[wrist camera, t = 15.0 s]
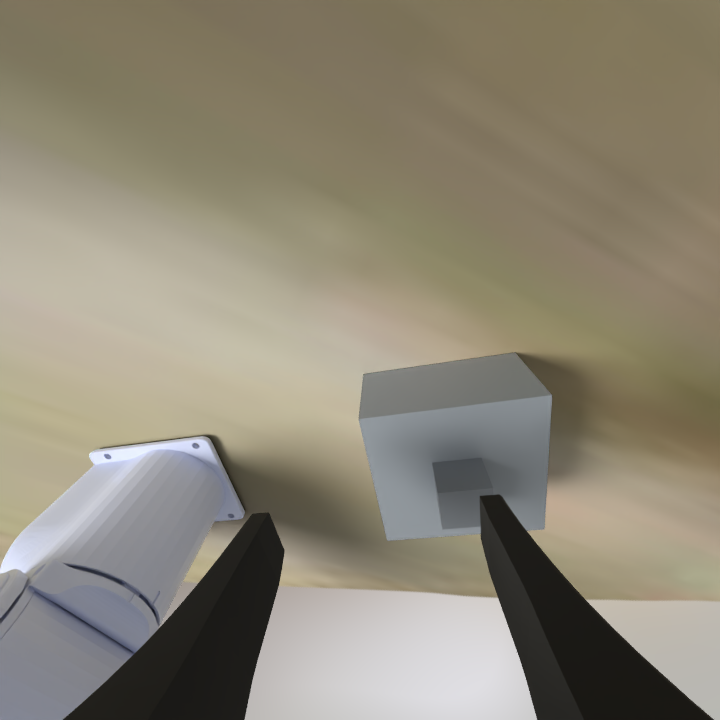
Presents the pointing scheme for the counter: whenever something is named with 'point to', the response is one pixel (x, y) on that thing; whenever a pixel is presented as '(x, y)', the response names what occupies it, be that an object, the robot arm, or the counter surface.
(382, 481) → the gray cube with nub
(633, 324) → the counter surface
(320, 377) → the counter surface
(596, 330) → the counter surface
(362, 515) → the counter surface
